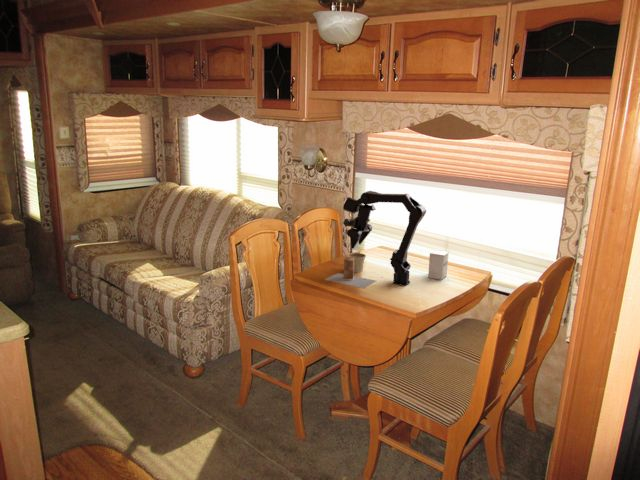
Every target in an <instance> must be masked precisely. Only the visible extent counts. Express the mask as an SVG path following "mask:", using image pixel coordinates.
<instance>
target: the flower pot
mask: <svg viewBox="0 0 640 480" xmlns="http://www.w3.org/2000/svg"><path fill="white" fill-rule="evenodd" d="M347 257H348V258H355V260H354V274H355V273H362V272H363V269H364V266H365V265H364V263H365V259H366V257H367V255H366V253H360V252H352V253H351V252H350V253H348V254H347Z"/></svg>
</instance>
